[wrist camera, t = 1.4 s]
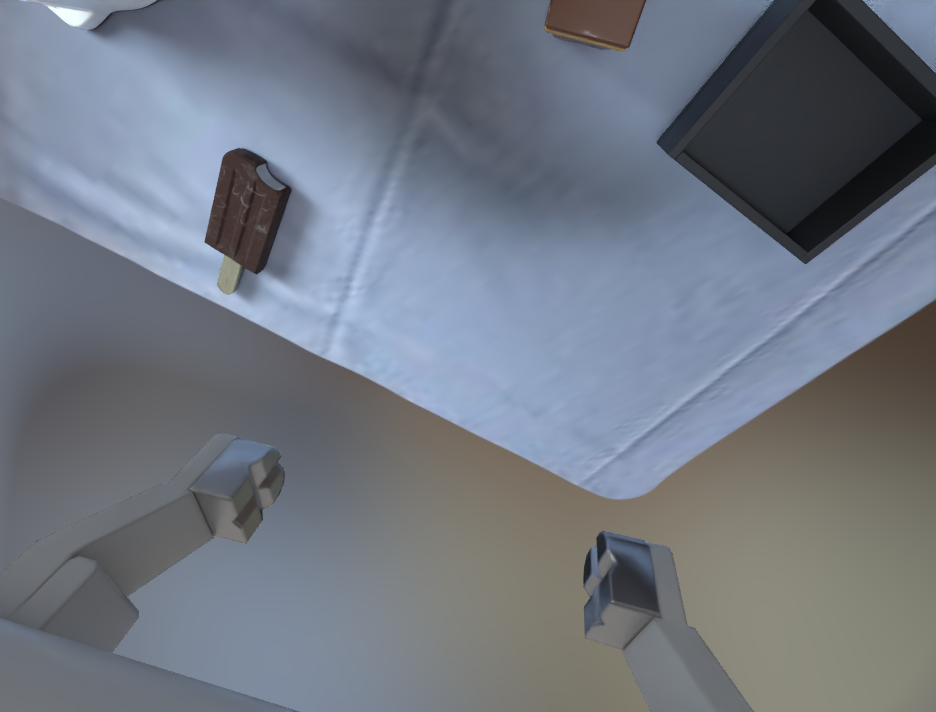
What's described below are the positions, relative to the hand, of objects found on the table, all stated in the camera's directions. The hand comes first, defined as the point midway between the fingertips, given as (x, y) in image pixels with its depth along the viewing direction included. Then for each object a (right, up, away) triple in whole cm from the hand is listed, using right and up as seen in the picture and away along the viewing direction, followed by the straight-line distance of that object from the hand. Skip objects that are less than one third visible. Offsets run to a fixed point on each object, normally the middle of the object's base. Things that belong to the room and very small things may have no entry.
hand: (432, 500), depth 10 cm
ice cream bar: (-20, +15, +29) cm, 38 cm away
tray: (+21, +18, +16) cm, 33 cm away
